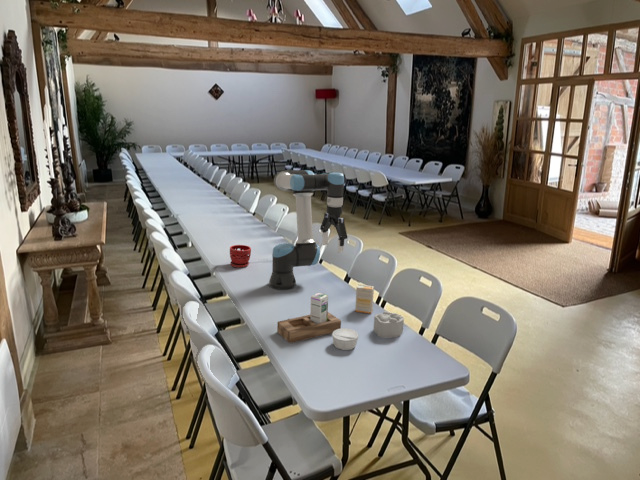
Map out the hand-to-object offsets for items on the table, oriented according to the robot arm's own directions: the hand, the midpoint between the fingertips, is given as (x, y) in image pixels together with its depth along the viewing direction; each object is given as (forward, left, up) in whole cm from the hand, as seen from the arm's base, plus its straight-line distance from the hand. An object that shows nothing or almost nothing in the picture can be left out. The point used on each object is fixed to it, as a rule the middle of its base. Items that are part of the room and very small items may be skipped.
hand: (332, 248), depth 230 cm
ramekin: (+35, -15, -32) cm, 50 cm away
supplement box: (+10, +14, -32) cm, 36 cm away
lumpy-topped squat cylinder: (+34, +10, -32) cm, 48 cm away
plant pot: (-82, -14, -32) cm, 89 cm away
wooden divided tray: (+17, -22, -32) cm, 42 cm away
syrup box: (+17, -17, -30) cm, 38 cm away
